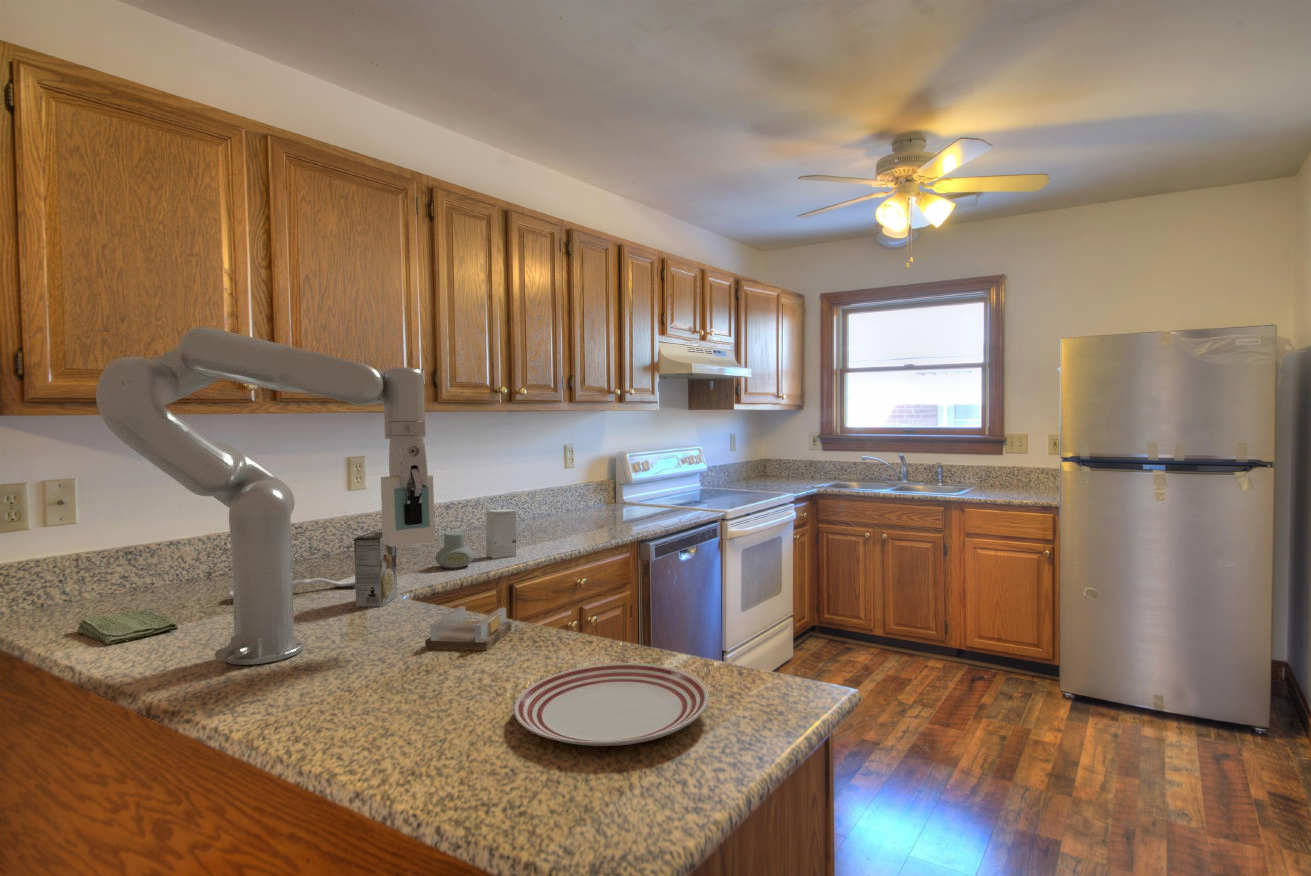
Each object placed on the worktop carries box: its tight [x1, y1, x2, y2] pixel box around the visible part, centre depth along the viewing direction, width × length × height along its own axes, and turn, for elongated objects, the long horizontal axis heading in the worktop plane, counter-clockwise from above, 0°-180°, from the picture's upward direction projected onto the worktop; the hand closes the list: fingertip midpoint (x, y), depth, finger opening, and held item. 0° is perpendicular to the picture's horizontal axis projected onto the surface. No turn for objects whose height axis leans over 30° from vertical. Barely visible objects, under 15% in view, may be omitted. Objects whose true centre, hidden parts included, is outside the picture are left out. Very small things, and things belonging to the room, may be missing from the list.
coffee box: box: [353, 531, 398, 608], centre depth 165 cm, size 9×6×16 cm
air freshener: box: [434, 531, 475, 570], centre depth 205 cm, size 11×8×10 cm
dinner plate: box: [513, 662, 710, 747], centre depth 98 cm, size 28×27×3 cm
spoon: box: [228, 574, 355, 598], centre depth 175 cm, size 9×32×4 cm, turn 124°
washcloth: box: [76, 609, 179, 645], centre depth 143 cm, size 13×18×3 cm
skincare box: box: [485, 508, 517, 560], centre depth 221 cm, size 8×6×15 cm
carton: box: [380, 474, 436, 547], centre depth 137 cm, size 6×8×13 cm
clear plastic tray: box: [429, 606, 507, 642], centre depth 135 cm, size 13×10×3 cm
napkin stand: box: [424, 620, 512, 652], centre depth 135 cm, size 13×12×2 cm
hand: (408, 521), depth 137 cm, fingers closed on carton, 5 cm apart
